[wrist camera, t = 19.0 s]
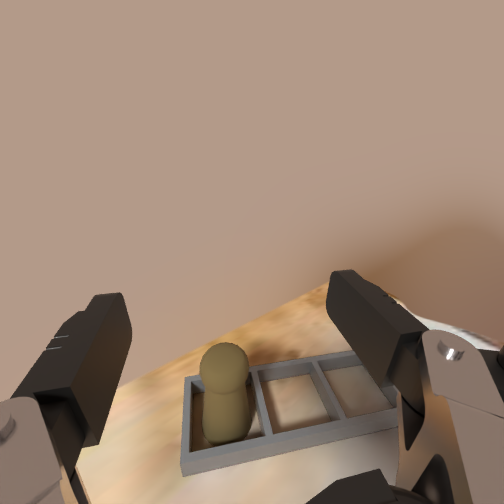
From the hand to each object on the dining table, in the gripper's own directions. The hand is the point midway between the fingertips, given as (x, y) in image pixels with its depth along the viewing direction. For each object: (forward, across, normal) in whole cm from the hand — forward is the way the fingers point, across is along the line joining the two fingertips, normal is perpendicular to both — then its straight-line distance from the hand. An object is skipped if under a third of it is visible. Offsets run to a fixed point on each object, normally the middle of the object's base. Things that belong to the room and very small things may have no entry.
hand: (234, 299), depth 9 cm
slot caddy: (+10, -8, +26) cm, 29 cm away
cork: (+10, 0, +26) cm, 28 cm away
